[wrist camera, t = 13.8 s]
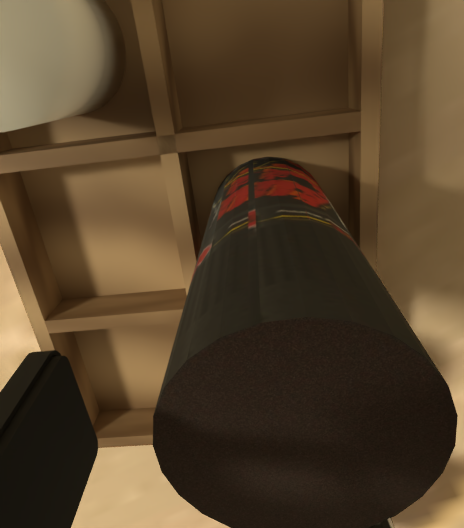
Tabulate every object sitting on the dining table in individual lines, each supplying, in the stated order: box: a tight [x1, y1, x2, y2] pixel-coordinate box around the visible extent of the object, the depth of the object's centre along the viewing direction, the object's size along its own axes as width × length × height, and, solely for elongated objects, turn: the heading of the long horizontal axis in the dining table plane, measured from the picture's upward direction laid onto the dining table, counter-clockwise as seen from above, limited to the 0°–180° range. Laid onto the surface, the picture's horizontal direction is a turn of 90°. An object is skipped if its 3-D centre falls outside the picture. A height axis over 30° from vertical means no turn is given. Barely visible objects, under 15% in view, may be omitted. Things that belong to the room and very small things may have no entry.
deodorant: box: [153, 157, 457, 528], centre depth 15 cm, size 6×6×15 cm
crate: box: [0, 0, 384, 448], centre depth 21 cm, size 27×18×3 cm
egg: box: [0, 0, 126, 132], centre depth 16 cm, size 6×6×7 cm
